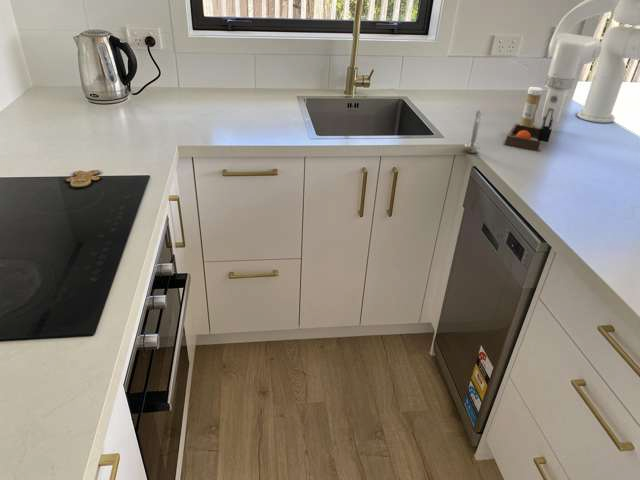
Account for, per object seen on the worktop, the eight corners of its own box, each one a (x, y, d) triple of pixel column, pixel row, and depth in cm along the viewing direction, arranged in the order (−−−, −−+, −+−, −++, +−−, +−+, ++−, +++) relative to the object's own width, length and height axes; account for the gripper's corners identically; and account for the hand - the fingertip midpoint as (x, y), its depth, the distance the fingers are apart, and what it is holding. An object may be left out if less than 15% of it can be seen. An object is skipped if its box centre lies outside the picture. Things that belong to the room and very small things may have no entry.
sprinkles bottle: (535, 127, 171) (546, 88, 163) (527, 129, 168) (537, 90, 161) (524, 123, 174) (534, 85, 167) (516, 125, 172) (526, 87, 164)
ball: (529, 140, 157) (514, 139, 158) (532, 128, 154) (517, 127, 156) (529, 147, 154) (514, 146, 155) (532, 135, 151) (516, 134, 152)
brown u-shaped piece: (512, 132, 165) (514, 123, 164) (543, 137, 161) (546, 129, 160) (505, 144, 155) (507, 135, 154) (537, 150, 151) (540, 141, 150)
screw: (482, 153, 148) (469, 155, 147) (472, 148, 152) (459, 150, 150) (491, 111, 141) (478, 113, 140) (480, 107, 145) (467, 108, 143)
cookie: (103, 168, 130) (95, 183, 122) (104, 171, 131) (96, 187, 122) (70, 169, 129) (60, 185, 121) (71, 172, 130) (61, 188, 121)
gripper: (570, 90, 139) (552, 150, 148) (574, 79, 150) (557, 135, 160) (542, 86, 142) (527, 145, 151) (549, 76, 153) (534, 131, 163)
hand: (543, 140), depth 155 cm, fingers closed
